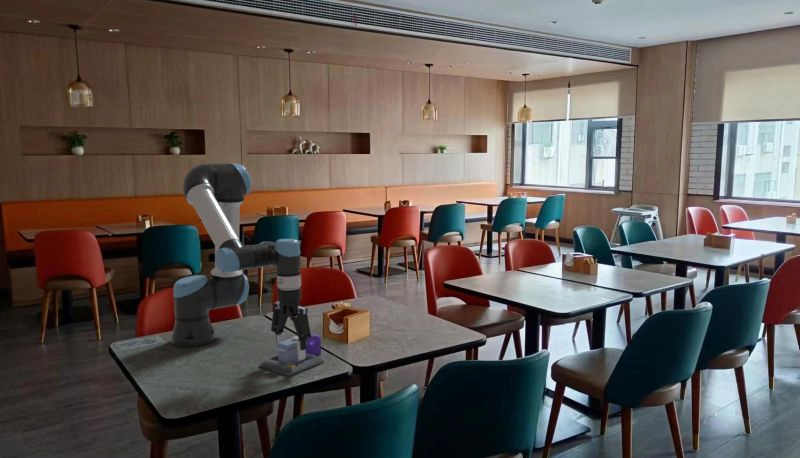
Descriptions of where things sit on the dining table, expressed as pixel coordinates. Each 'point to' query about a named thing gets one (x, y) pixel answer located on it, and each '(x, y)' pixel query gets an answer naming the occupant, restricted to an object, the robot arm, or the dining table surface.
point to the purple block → (313, 345)
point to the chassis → (291, 369)
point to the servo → (288, 351)
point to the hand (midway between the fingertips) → (291, 356)
